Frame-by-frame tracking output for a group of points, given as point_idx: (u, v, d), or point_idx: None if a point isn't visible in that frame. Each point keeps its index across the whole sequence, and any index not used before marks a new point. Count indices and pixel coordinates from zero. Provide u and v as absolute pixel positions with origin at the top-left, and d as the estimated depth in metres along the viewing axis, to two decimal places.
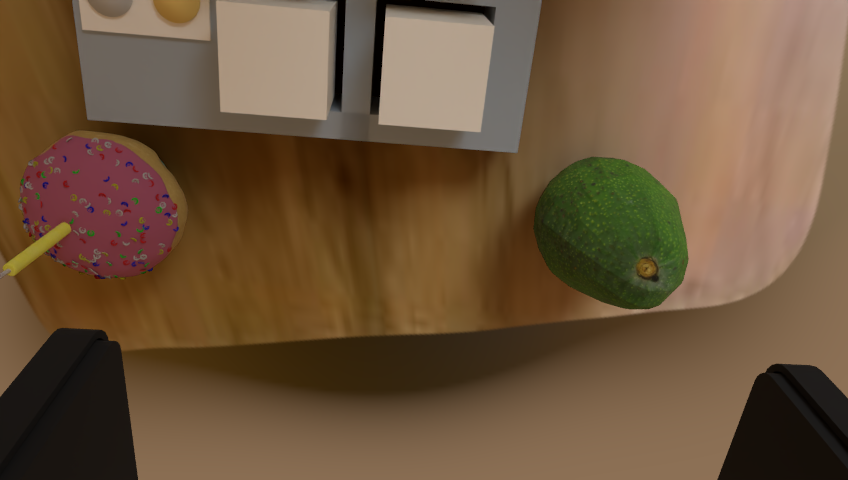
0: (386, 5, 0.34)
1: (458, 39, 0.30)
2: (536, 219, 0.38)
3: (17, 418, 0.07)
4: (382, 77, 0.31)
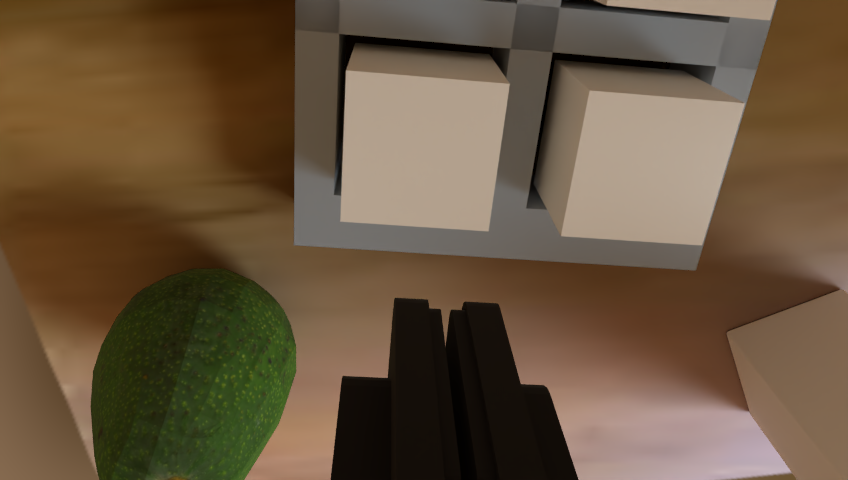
0: (491, 57, 0.24)
1: (473, 186, 0.22)
2: (197, 280, 0.26)
3: (422, 366, 0.08)
4: (420, 78, 0.20)
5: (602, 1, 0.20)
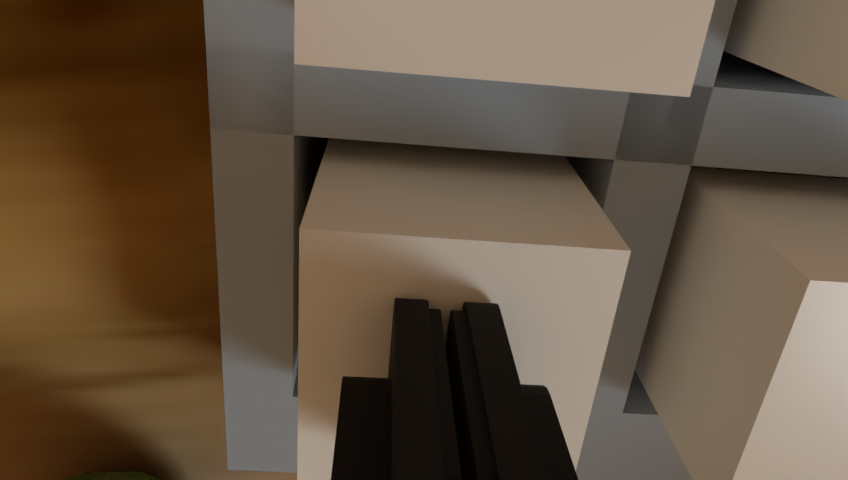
0: (566, 159, 0.14)
1: None
2: None
3: (422, 367, 0.08)
4: (452, 242, 0.10)
5: None
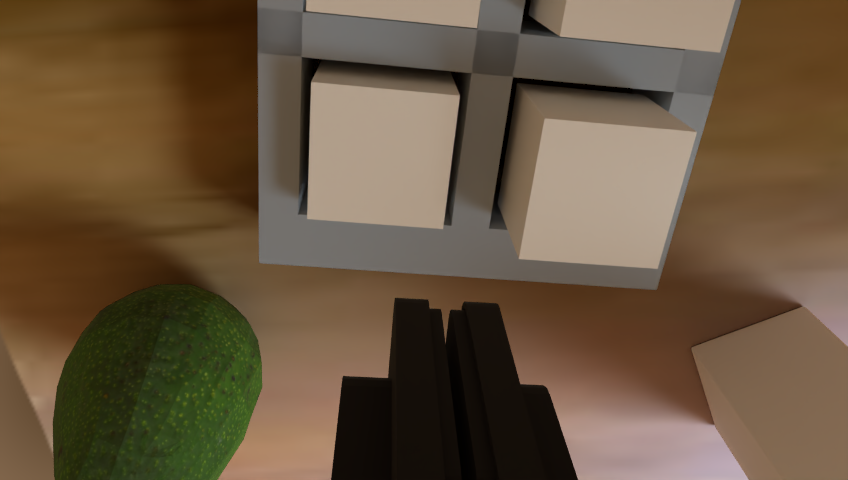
0: None
1: (428, 188, 0.24)
2: (162, 297, 0.26)
3: (422, 367, 0.08)
4: (379, 89, 0.22)
5: (556, 32, 0.20)
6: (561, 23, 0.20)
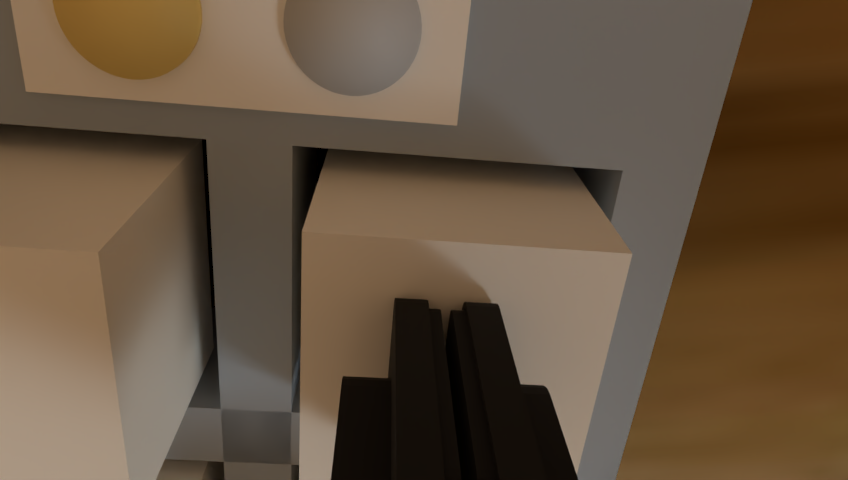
0: None
1: None
2: None
3: (422, 366, 0.08)
4: None
5: None
6: (299, 465, 0.12)
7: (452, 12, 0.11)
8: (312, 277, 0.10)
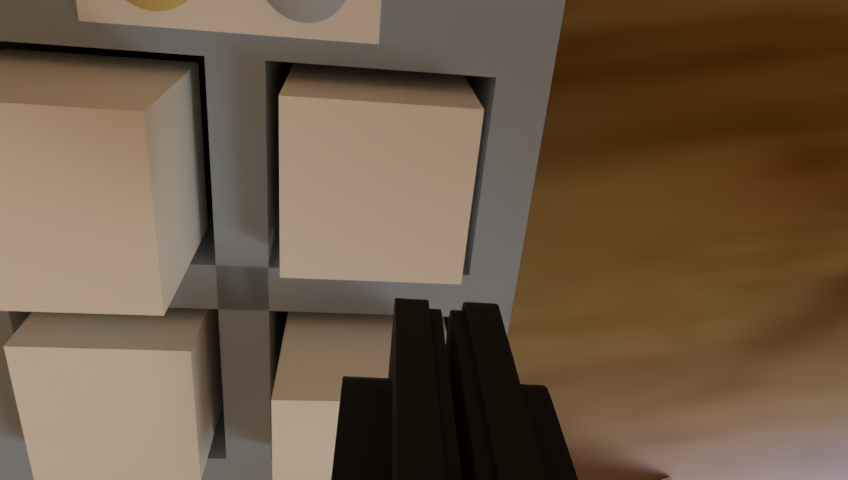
0: None
1: (173, 442, 0.20)
2: None
3: (423, 367, 0.08)
4: (89, 350, 0.18)
5: None
6: None
7: None
8: (285, 126, 0.16)
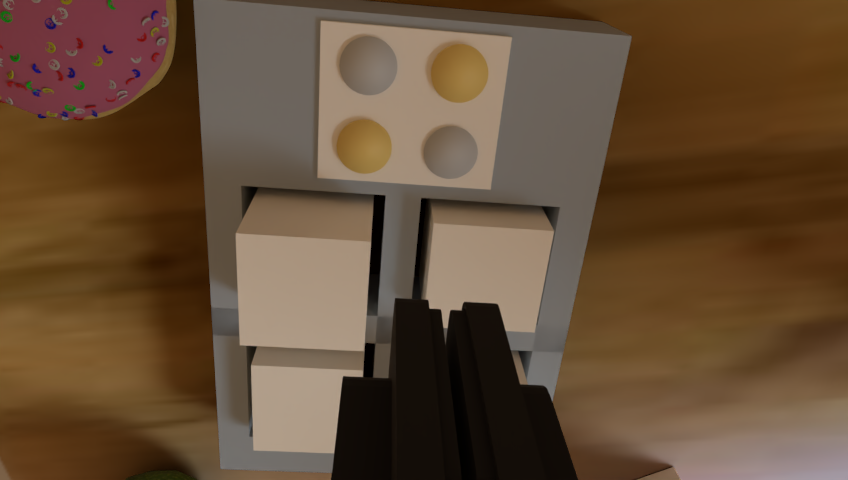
0: None
1: None
2: None
3: (422, 367, 0.08)
4: (302, 368, 0.30)
5: None
6: None
7: (489, 147, 0.27)
8: (436, 240, 0.27)
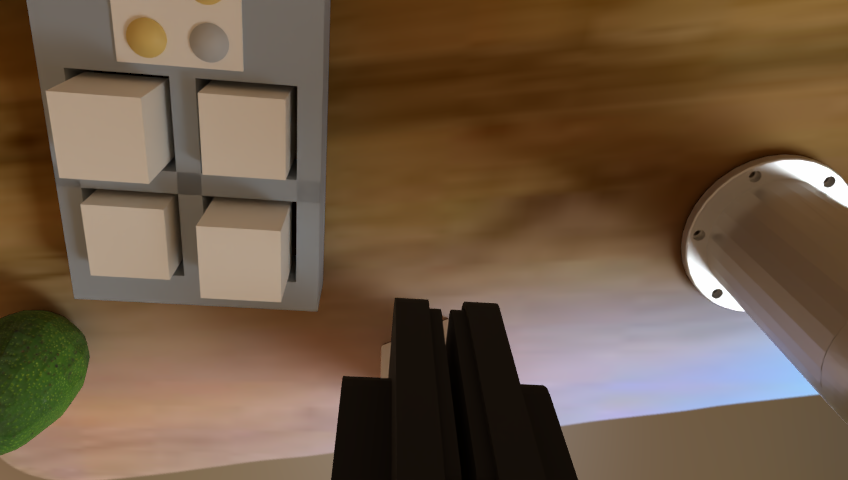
0: None
1: (156, 257, 0.43)
2: (18, 319, 0.45)
3: (422, 367, 0.08)
4: (118, 207, 0.41)
5: None
6: (202, 168, 0.40)
7: (237, 38, 0.38)
8: (201, 106, 0.38)
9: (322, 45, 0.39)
